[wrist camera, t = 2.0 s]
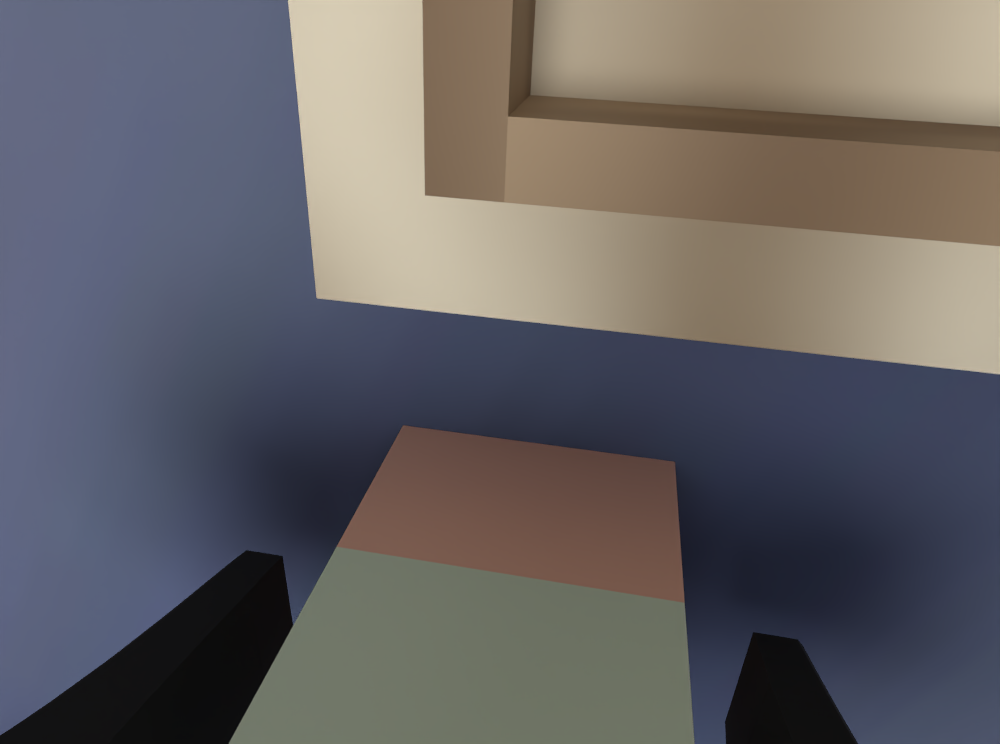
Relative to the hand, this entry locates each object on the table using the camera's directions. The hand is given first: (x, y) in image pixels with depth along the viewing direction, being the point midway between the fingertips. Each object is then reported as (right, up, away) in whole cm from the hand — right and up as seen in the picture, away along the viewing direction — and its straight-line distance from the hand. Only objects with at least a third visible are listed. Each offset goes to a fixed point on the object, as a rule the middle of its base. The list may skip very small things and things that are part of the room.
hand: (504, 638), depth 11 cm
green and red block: (0, +1, +2) cm, 2 cm away
